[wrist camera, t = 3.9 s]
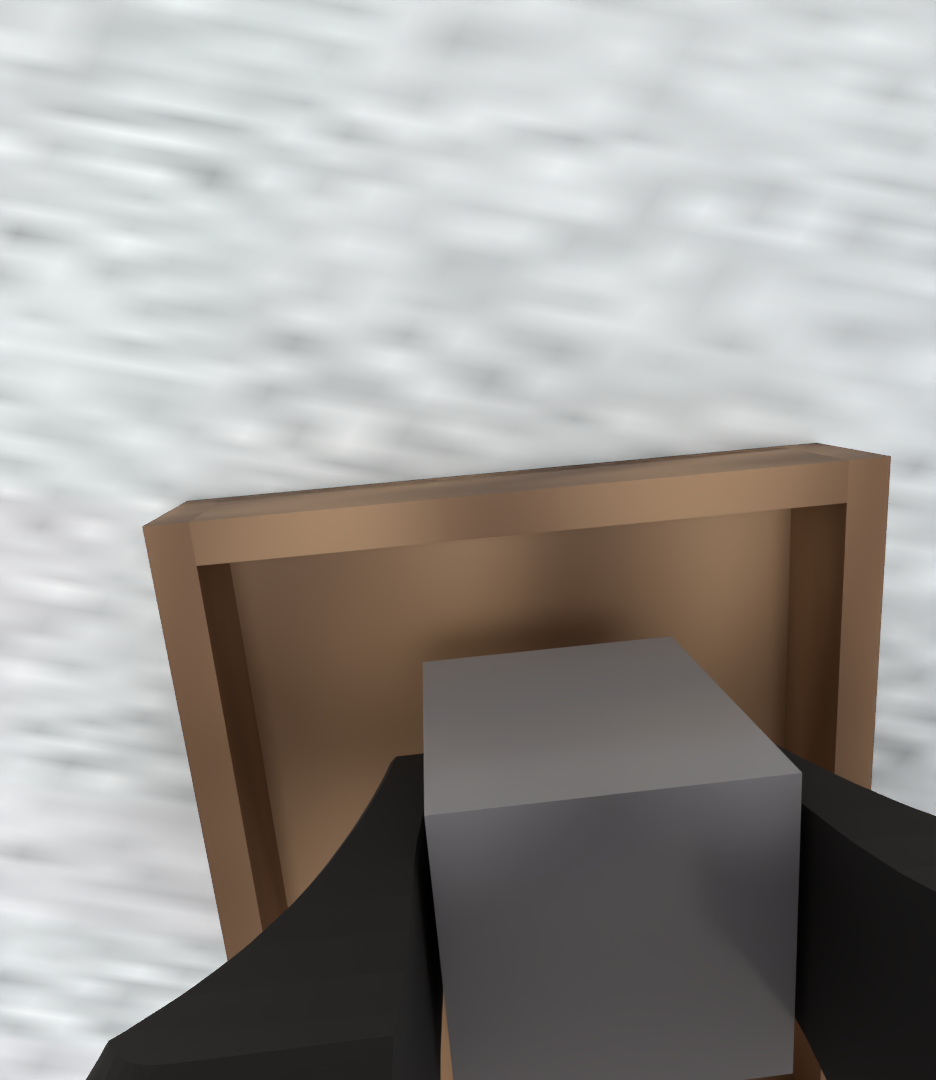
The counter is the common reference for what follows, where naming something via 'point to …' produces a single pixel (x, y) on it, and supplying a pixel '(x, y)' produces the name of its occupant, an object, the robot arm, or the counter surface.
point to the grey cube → (609, 868)
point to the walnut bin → (499, 626)
